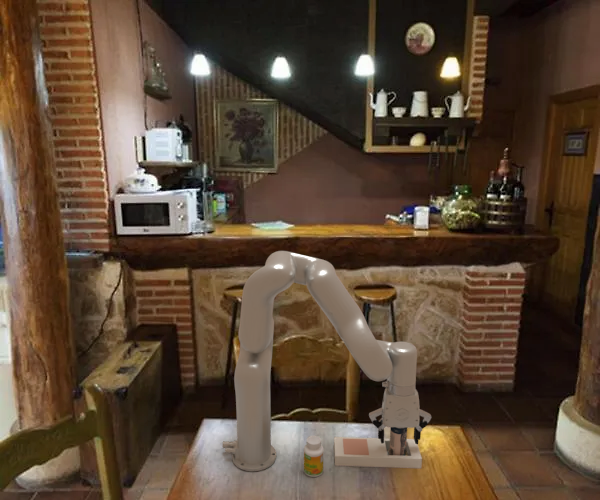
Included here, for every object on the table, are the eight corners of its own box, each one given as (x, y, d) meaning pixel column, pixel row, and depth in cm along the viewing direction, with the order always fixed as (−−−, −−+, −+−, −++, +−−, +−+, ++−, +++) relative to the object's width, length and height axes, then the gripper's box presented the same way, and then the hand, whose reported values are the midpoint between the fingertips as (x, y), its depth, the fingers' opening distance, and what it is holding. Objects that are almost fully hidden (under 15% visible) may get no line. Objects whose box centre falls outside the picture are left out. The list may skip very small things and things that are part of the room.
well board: (334, 465, 136) (335, 455, 135) (334, 445, 144) (334, 436, 144) (421, 468, 135) (422, 458, 134) (415, 448, 143) (415, 438, 143)
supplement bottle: (300, 474, 132) (301, 443, 130) (307, 462, 137) (307, 432, 134) (319, 479, 130) (320, 447, 128) (325, 467, 135) (326, 436, 133)
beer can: (405, 463, 136) (408, 425, 134) (388, 461, 137) (390, 423, 135) (405, 453, 141) (407, 416, 138) (388, 451, 142) (390, 414, 139)
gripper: (371, 392, 131) (369, 448, 135) (436, 393, 130) (432, 449, 134) (368, 379, 138) (367, 432, 142) (429, 380, 137) (426, 433, 141)
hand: (398, 440), depth 138 cm, fingers open, 9 cm apart
